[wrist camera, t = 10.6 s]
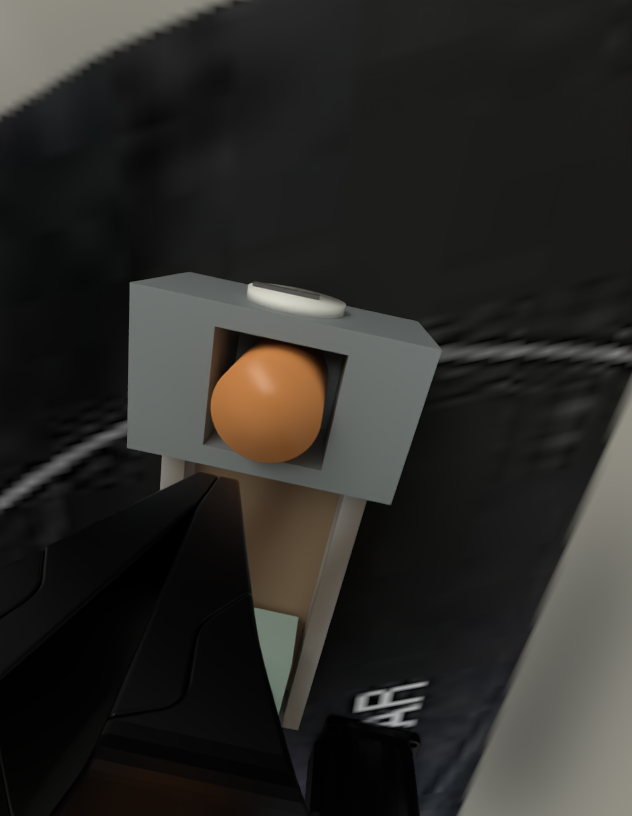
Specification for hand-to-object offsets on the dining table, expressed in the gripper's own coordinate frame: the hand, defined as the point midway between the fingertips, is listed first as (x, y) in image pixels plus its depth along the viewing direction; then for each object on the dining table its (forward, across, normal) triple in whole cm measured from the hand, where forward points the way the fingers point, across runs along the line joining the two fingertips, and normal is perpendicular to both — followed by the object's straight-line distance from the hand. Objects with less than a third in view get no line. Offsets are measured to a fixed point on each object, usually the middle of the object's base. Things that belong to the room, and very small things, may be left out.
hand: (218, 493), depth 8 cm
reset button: (+9, 0, 0) cm, 9 cm away
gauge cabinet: (+11, 0, 0) cm, 11 cm away
